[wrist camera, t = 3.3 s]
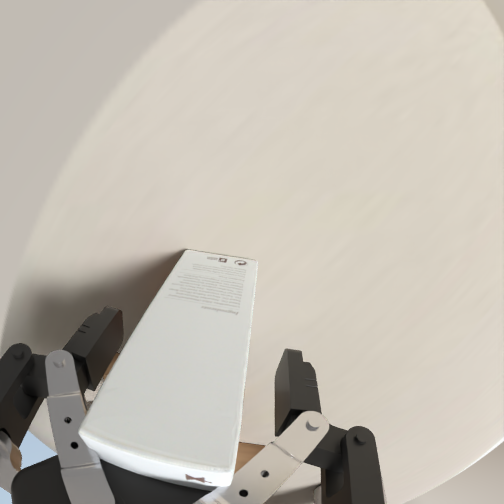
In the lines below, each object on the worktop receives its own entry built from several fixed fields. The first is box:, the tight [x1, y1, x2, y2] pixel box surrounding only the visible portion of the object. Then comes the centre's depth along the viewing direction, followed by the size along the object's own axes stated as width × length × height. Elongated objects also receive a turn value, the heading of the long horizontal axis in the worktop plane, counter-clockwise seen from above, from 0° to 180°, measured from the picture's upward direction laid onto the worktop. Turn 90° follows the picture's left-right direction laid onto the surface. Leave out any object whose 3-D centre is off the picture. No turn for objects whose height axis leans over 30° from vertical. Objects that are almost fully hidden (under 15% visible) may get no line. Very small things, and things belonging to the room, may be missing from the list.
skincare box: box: [78, 250, 258, 491], centre depth 12 cm, size 6×4×12 cm
